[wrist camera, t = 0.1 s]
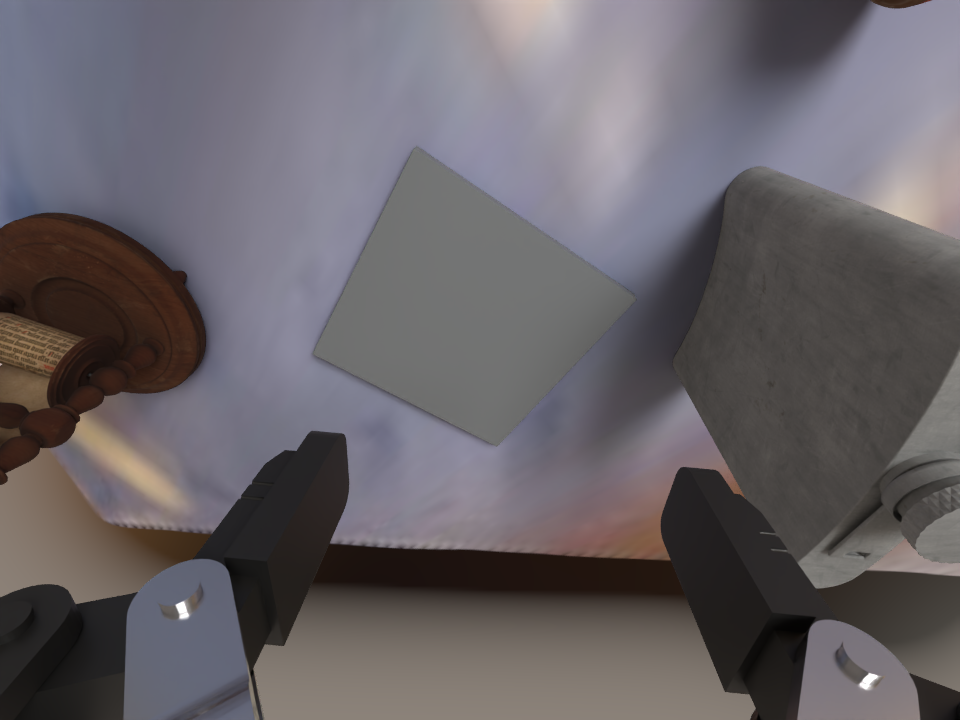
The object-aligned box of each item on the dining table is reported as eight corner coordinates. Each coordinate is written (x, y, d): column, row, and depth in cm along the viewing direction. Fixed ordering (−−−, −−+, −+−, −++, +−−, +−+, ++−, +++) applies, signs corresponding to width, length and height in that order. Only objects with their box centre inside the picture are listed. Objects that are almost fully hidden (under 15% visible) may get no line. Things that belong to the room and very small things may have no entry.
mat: (416, 146, 27) (413, 148, 26) (633, 293, 32) (636, 299, 31) (316, 347, 36) (312, 354, 35) (497, 439, 40) (497, 446, 40)
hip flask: (734, 165, 26) (1111, 325, 10) (802, 167, 26) (1300, 332, 10) (668, 374, 35) (808, 643, 19) (718, 377, 35) (904, 649, 19)
